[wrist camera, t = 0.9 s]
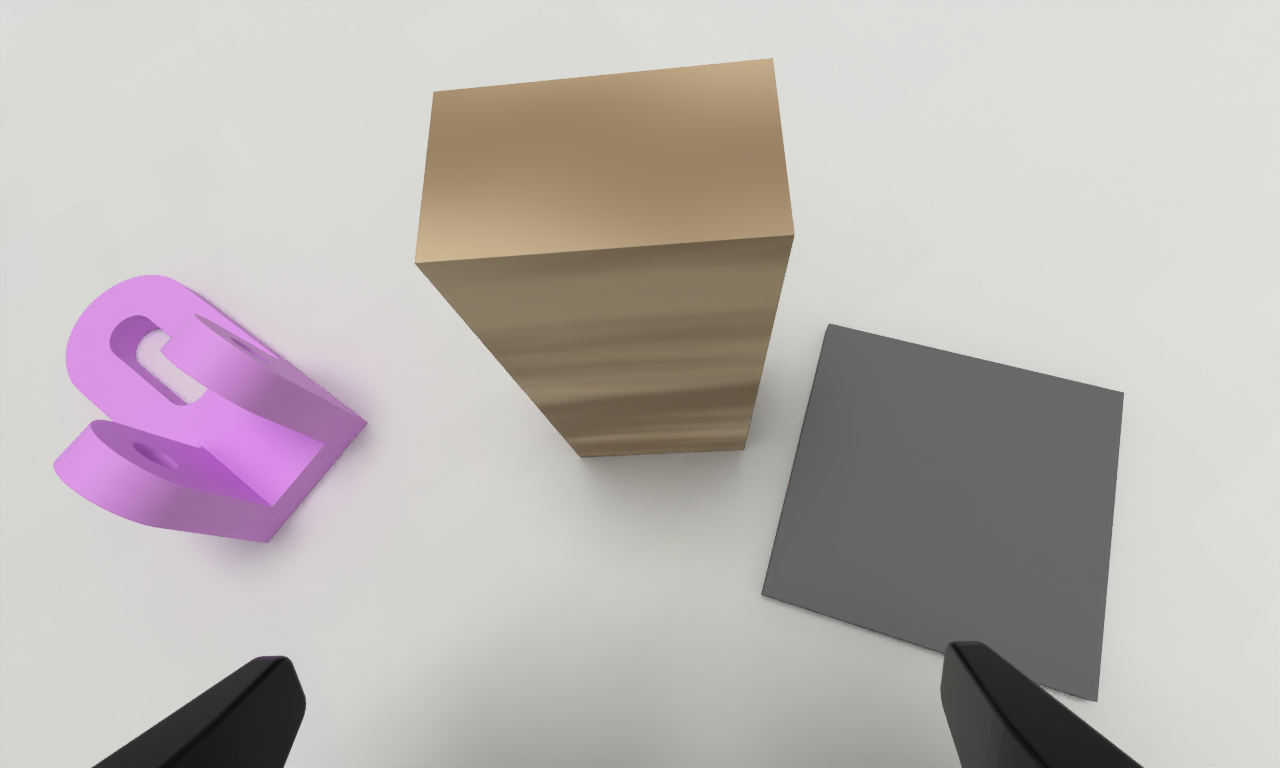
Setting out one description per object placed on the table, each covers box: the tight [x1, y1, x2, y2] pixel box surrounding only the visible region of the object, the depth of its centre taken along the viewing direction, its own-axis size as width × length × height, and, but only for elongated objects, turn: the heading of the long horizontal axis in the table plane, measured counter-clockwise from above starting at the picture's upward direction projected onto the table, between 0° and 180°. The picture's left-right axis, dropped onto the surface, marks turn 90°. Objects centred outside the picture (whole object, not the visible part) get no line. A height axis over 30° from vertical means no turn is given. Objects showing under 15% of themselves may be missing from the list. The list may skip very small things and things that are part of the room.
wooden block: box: [415, 58, 794, 457], centre depth 17 cm, size 4×6×14 cm, turn 91°
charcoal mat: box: [762, 324, 1124, 702], centre depth 21 cm, size 10×10×1 cm
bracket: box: [53, 275, 367, 543], centre depth 23 cm, size 13×6×7 cm, turn 54°
